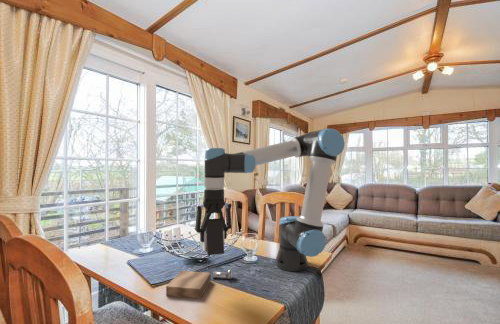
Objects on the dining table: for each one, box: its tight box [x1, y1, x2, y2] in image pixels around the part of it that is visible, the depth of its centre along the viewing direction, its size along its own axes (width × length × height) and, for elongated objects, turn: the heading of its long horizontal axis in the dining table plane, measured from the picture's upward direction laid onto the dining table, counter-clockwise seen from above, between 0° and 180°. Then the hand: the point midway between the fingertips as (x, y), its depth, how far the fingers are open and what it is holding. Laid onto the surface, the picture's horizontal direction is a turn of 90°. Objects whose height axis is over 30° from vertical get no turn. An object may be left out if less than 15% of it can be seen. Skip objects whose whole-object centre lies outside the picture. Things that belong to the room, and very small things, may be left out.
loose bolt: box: [211, 268, 233, 280], centre depth 107 cm, size 8×4×4 cm, turn 82°
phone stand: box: [205, 217, 225, 256], centre depth 95 cm, size 9×6×12 cm, turn 19°
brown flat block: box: [165, 270, 212, 299], centre depth 98 cm, size 13×13×4 cm
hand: (213, 248), depth 96 cm, fingers closed on phone stand, 6 cm apart
